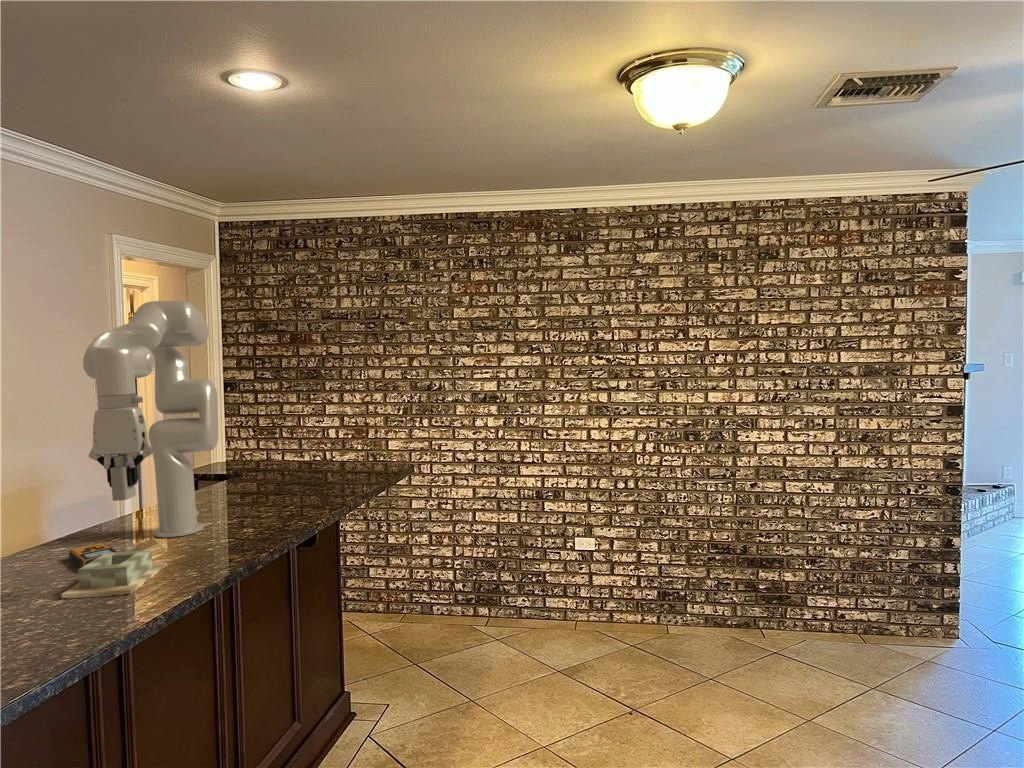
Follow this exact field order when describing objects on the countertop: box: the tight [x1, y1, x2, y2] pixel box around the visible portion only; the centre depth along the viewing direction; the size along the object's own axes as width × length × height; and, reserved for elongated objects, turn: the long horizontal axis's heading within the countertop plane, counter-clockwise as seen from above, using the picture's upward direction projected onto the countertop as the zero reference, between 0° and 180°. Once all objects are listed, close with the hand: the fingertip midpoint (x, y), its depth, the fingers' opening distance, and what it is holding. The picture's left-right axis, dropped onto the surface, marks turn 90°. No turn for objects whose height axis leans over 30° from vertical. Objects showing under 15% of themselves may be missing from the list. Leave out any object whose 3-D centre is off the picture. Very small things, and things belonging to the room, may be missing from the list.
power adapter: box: [110, 454, 137, 502], centre depth 156 cm, size 3×5×12 cm, turn 5°
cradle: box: [60, 549, 168, 599], centre depth 156 cm, size 18×14×5 cm
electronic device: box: [68, 542, 118, 569], centre depth 172 cm, size 8×16×3 cm, turn 45°
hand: (123, 484), depth 157 cm, fingers closed on power adapter, 3 cm apart
